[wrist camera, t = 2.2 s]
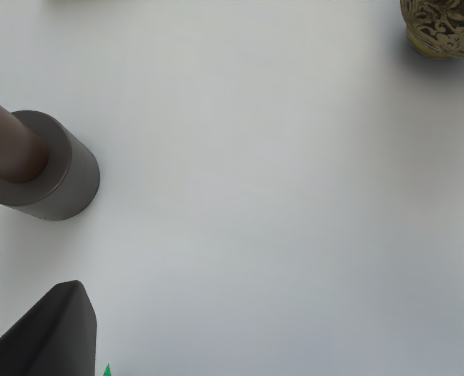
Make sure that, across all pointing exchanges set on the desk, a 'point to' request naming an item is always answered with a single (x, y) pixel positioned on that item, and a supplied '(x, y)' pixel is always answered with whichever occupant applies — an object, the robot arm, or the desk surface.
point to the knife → (107, 371)
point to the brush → (44, 166)
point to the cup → (435, 27)
